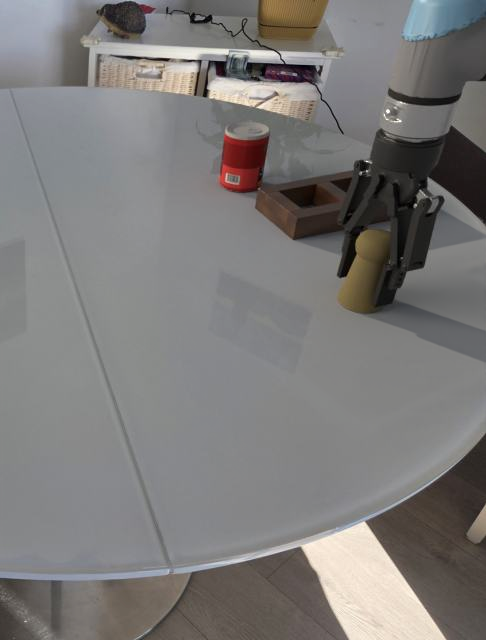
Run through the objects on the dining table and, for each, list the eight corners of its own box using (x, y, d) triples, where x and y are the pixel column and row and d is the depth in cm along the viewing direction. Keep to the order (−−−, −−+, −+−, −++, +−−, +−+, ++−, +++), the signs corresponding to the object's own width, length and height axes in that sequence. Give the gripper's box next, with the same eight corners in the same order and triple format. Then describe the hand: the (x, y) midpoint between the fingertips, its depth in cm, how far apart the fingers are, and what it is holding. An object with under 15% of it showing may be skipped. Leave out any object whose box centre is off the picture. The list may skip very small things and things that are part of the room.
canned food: (266, 191, 121) (276, 134, 114) (224, 194, 122) (231, 138, 115) (254, 174, 127) (263, 119, 120) (214, 177, 127) (220, 123, 121)
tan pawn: (360, 317, 89) (381, 249, 83) (327, 296, 94) (345, 230, 87) (392, 305, 91) (416, 237, 84) (359, 285, 95) (379, 219, 89)
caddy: (411, 216, 110) (418, 194, 108) (292, 239, 107) (297, 218, 104) (364, 186, 120) (370, 166, 117) (254, 207, 117) (258, 187, 114)
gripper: (333, 110, 84) (299, 259, 98) (446, 168, 69) (387, 335, 83) (383, 101, 85) (343, 250, 99) (506, 156, 70) (437, 323, 84)
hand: (363, 289), depth 91 cm, fingers open, 7 cm apart
